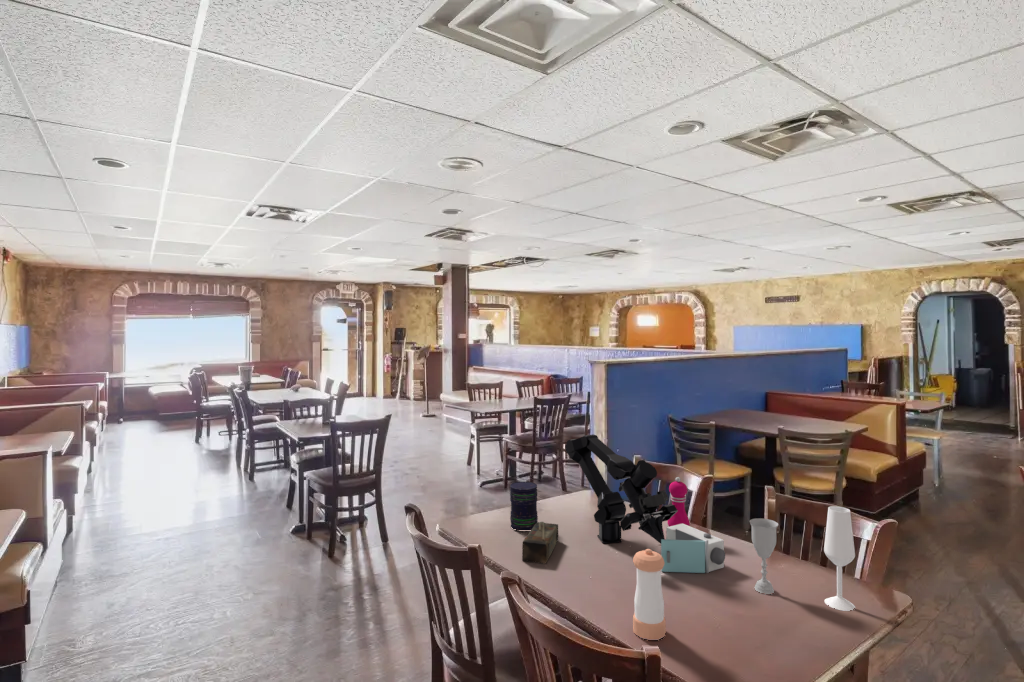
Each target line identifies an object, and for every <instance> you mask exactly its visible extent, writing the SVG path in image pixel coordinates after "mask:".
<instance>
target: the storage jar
mask: <svg viewBox="0 0 1024 682" xmlns="http://www.w3.org/2000/svg"><path fill="white" fill-rule="evenodd" d="M537 488H538V483H535V482H531V481H516V482H512V483H511V484H510V485H509V497H510V498H509V501H510V516H509V519H510V528H511V527H512V528H513V529H516V530H532V528H533V527H534V526H535V524H536V523H537V522H538V520H539V518H538V517H539V516H538V511H537V502H538V489H537ZM513 529H512V530H513Z"/></svg>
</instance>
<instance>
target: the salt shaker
mask: <svg viewBox="0 0 1024 682" xmlns="http://www.w3.org/2000/svg"><path fill="white" fill-rule="evenodd" d="M632 561H633V565H634V567H635V568H636V586H635V592H634V598H633V599H634V600H633V603H634V605H633V606H634V613H633V616H632V626H633V627H632V628H633V629H632V631H633V634H634V633H635V634H636V635H638V636H640V637H642V638H647V639H659V638H661V637H663V636H664V635H665V633H666V634H667V631H666V630H667V629H666V626H667V621H666V617H665V601H664V594H663V589H662V571H661V570H662V569H663V567H664V564H665V563H664V559H663V557H662V556H661V553H659V552H657V551H655V550H654V551H653V550H652V549H650V548H646V549H643V550H640V551H637V552H635V554H634V555H633V559H632ZM635 634H634V635H635ZM636 635H635V636H636ZM638 636H637V637H638ZM665 636H666V635H665Z"/></svg>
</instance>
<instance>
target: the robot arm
mask: <svg viewBox="0 0 1024 682" xmlns="http://www.w3.org/2000/svg"><path fill="white" fill-rule="evenodd" d="M565 452H566V453H567V455H568V456H569V457H570V459H571V460H572V461H574V462H576V464H578V465H579V467H580V469H581V470H582V472H583V474H584V476H585V477H586V479H587V482H588V484H589V485H590V486H591V488H592V490H593V492H594V494H595V496H596V498H597V511H595V513H594V514H593V518H594V521H595V523H598V535H597V538H598V539H599V540H600V542H601V543H602V544H613V543H615V544H616V543H622V531H623V532H625V531H628V530H631V529H632V525H633V524H637V523H638V524H639V527H638V530H639V531H640V530H641V531H643V532H644V533H646V534H647V535H649V536H650V537H651V538H653V539H654V540H655V541H657V542H658V543H659V544H660V545H661V539H666V538H665V533H664V528H663V522H668V520H669V519H670V518H671V517H672V516H673V515H674V514H675V513H676V512H677V511H678V510H677V509H676V507H675V505H673V504H672V503H671V504H667V501H669V496H668V494H667V492H666V491H665V490H659V491H657V492H656V494H653V495H652V494H651V493H650V492H648V493H647V492H646V490H645V489H647V488H648V486H649V485H650V484H651V483H652V482H653V481H654V480H655V478H656V477H657V476H658V471H657V469H656V468H655V467H654V466H653V465H652V464H651V463H648V462H646V460H645V459H640V460H638V461H637V462H636V464H635V463H634V462H633V461H632V460H631V459H630V458H628V457H626V456H623V455H618V454H617V453H616V452H615V451H613V449H612V448H610V447H609V446H608V445H606V444H605V443H604V442H603V441H602V440H601V439H599V437H598V436H597V434H594V433H593V434H587V435H586V434H585V435H583V436H581V437H579V438H573V439H572V438H571V439H567V441H566V443H565ZM592 454H593V455H595V456H596V457H597V458H598V459H599V460H600V461H601V462H602V463H603V464H604V465H606V468H607V473H609V475H611V477H612V479H614V480H615V481H619V480H620V481H621V480H623V481H621V482H619V487H618V491H614V492H613V491H612V490H611V489H610V487H609V486H608V484H607V482H606V481H605V479H604V476H603V475H602V473H601V472H600V470H599V468H598V466H597V464H596V463H595V461H594V459H593V458H592ZM624 479H625V480H624ZM620 492H624V493H625V495H626V497H627V499H628V501H629V504H628V506H629V509H632V508H633V510H634V511H632V512H630V513H629V512H628V513H626V512H627V506H626V504H625V500H624V499H623V498H622V496H621V494H620ZM660 506H661V507H660Z"/></svg>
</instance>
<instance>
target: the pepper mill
mask: <svg viewBox="0 0 1024 682" xmlns="http://www.w3.org/2000/svg"><path fill="white" fill-rule="evenodd" d="M681 479H682V478H681V477H679V476H677V477H675V479H674V481H672V482H671V483H670V484H669V487H668V491H669V493H670V494H671V495H670V501H671V504H673V505H675V507H676V509H677V510H678V511H677V512H676V513H675V514H674V515H673V516H672V517H671V518H670V519H669V520H667V521H666V522H667V527H670V526H674V525H678V524H682V523H683V524H685V525H688V526H690V525H691V524H690V519H689V517H688V514H687V512H686V508H685V507H686V506H685V502H686V501H687V496H686V495H687V494H688V486H687V485H686V483H685V482H682V480H681ZM690 527H691V526H690Z"/></svg>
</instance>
